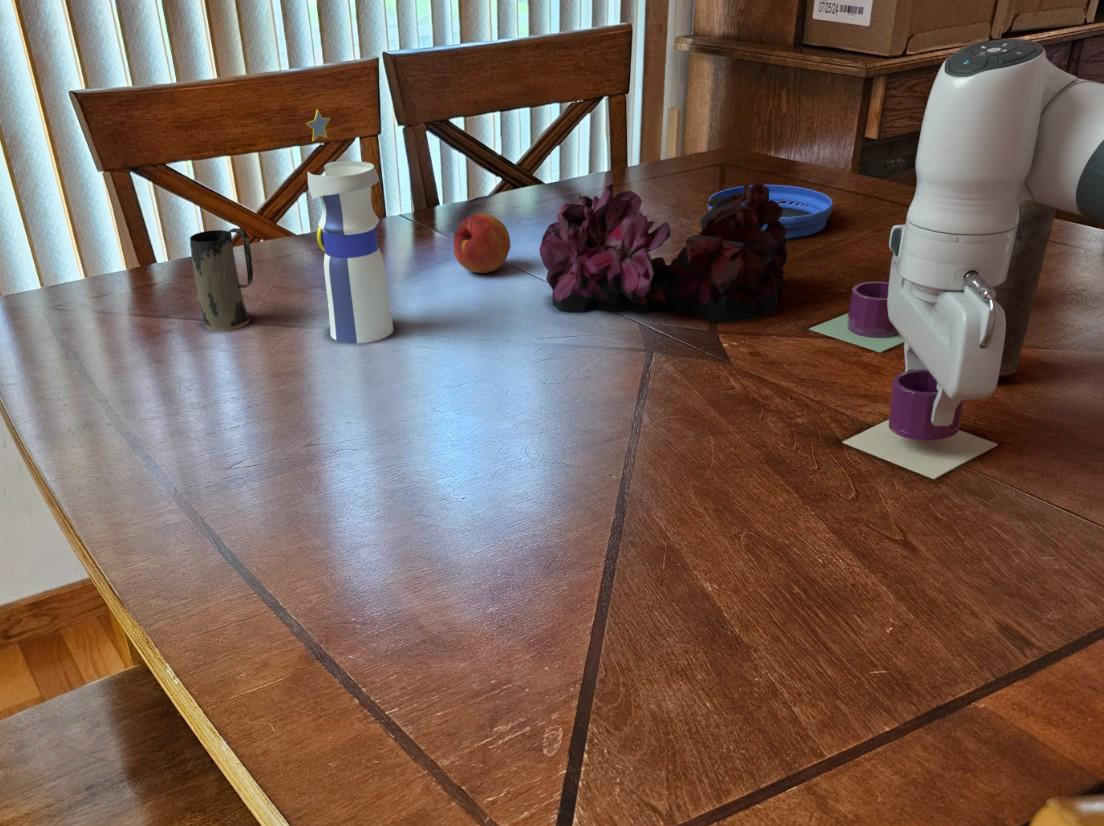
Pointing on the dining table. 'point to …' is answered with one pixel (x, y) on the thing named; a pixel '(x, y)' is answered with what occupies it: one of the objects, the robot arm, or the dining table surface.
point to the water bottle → (350, 248)
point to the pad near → (920, 449)
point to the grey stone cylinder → (1023, 278)
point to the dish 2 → (918, 407)
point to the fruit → (481, 243)
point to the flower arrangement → (649, 284)
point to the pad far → (840, 331)
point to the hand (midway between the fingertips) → (926, 404)
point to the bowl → (794, 208)
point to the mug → (220, 278)
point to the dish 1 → (870, 311)
